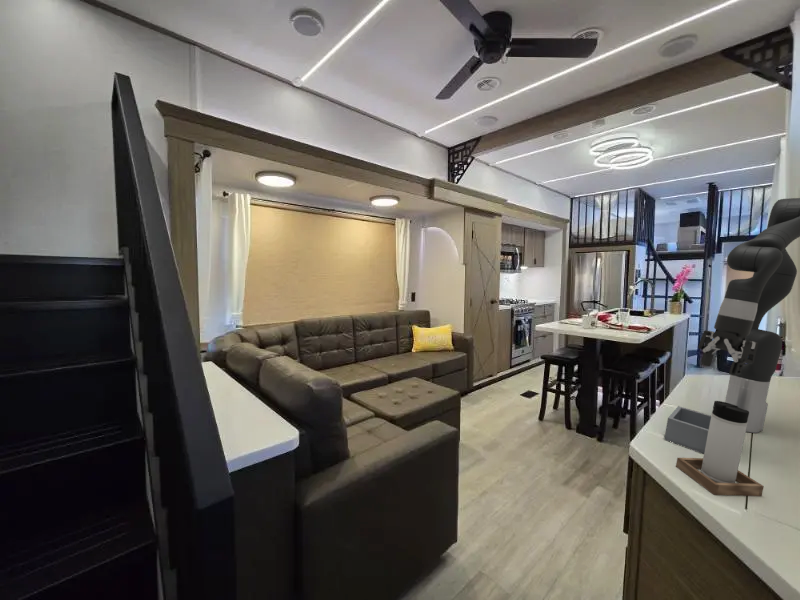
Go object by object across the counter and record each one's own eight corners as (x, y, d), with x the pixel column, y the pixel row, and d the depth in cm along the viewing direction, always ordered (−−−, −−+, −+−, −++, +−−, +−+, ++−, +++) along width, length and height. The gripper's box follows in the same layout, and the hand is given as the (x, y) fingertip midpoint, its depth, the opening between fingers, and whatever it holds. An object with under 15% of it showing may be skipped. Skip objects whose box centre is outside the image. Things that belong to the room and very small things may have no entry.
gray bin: (674, 426, 112) (678, 405, 111) (733, 445, 102) (737, 423, 101) (664, 439, 103) (667, 417, 102) (727, 462, 93) (732, 438, 92)
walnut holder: (718, 467, 90) (719, 458, 90) (761, 495, 80) (763, 486, 79) (675, 466, 90) (677, 457, 89) (713, 494, 79) (715, 484, 79)
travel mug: (692, 472, 87) (706, 398, 85) (715, 472, 88) (730, 398, 85) (716, 489, 81) (732, 409, 79) (741, 488, 82) (758, 410, 79)
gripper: (775, 323, 91) (756, 381, 93) (724, 314, 105) (708, 364, 107) (749, 318, 90) (730, 377, 92) (701, 309, 104) (685, 360, 106)
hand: (718, 370), depth 100 cm, fingers open, 8 cm apart
